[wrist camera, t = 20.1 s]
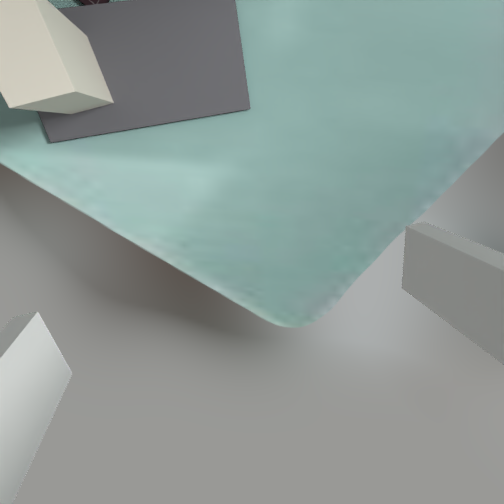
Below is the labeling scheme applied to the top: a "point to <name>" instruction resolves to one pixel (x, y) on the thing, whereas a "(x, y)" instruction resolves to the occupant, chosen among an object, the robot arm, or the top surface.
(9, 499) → the robot arm
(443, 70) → the top surface
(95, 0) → the chocolate bar
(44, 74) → the card box
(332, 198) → the top surface
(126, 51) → the mat
